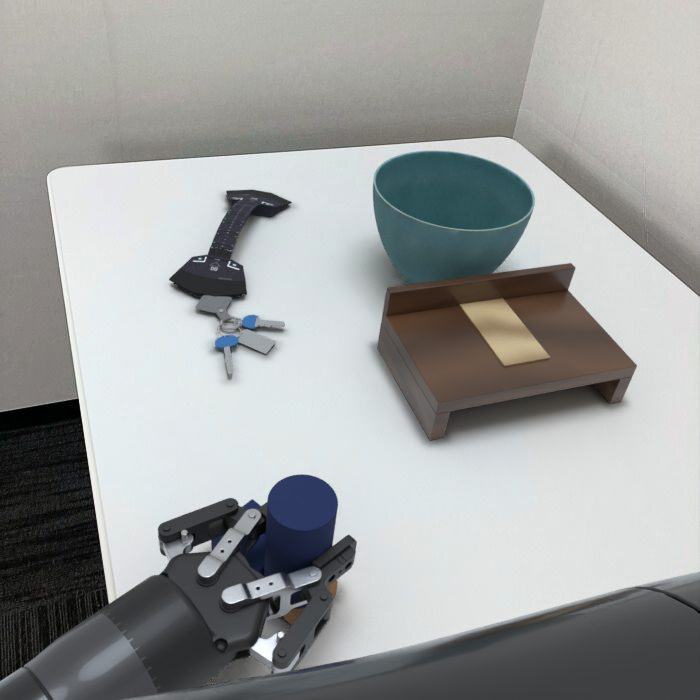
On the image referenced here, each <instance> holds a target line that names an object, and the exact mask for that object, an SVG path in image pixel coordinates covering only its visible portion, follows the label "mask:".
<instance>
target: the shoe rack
mask: <svg viewBox="0 0 700 700" xmlns="http://www.w3.org/2000/svg"><path fill="white" fill-rule="evenodd" d="M575 271H576V266H575V265H573V263H572V262H568V263H561V264H553V265H545V266H538V267H530V268H522V269H516V270H515V269H514V270H507V271H500V272H493V273H492V274H484V275H476V276H469V277H461V278H454V279H446V280H439V281H431V282H423V283H416V284H409V283H407V284H402V285H395V286H387V287H386V289H385V296H384V302H383V309H382V315H381V322H380V327H379V332H378V338H377V339H378V340H377V346H376V348H377V350H378V352H379V354H380V355H381V358H382V359H383V361H384V362H385V364H386V366H387V368H388V370H389V371H390V373H391V375H392V377H393V379H394V380H395V381H396V384H397V385H398V387H399V388H400V391H401V392H402V394H403V395H404V398H405V399H406V401H407V403H408V404H409V406H410V408H411V410H412V412H413V414H414V415H415V417H416V418H417V420H418V422H419V424H420V425H421V427H422V429H423V431H424V433H425V435H426V437H427V438H428V440H429V441H433V440H439V439H444V437H445V434H446V430H447V428H448V427H447V426H448V423H449V419H450V415H451V412H454V411H460V410H465V409H470V408H475V407H480V406H485V405H491V404H497V403H502V402H506V401H507V402H508V401H511V400H516V399H522V398H528V397H532V396H538V395H543V394H548V393H554V392H559V391H563V390H569V389H574V388H579V387H580V388H581V387H586V386H590V385H593V386H594V387H595V388H596V389H597V390H598V391H599V393H600V394H601V395H602V396H603V398H604V399H605V400H606V401H607V403H608V404H615V403H621V402H622V401H623V399H624V396H625V394H626V393H627V390H628V387H629V386H630V384H631V381H632V379H633V376H634V374H635V372H636V370H637V367H638V365H637V364H636V362H635V361H634V360H633V359H632V358H631V357H630V356H629V355H628V354H627V353H626V351H624V350H623V348H622V347H621V346H620V345H619V344H618V342H617V341H615V340H614V339H613V337H612V336H611V335H610V334H609V333H608V332H607V331H606V330H605V329H604V328H603V326H602V325H601V324H600V323H599V322H598V321H597V320H596V319H595V318H594V317H593V315H591V313H590V312H589V311H588V310H587V309H586V308H585V307H584V306H583V304H582V303H581V302H580V301H579V300H578V299H577V298H576V297H575V296H574V294H572V293H571V291H570V290H569V288H570V286H571V282H572V280H573V277H574V274H575Z"/></svg>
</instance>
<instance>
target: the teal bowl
mask: <svg viewBox="0 0 700 700" xmlns="http://www.w3.org/2000/svg"><path fill="white" fill-rule="evenodd" d="M372 178H373V179H372V180H373V181H372V200H373V201H372V204H373V205H372V206H373V213H374V214H373V215H374V220H375V224H376V228H377V232H378V235H379V238H380V241H381V244H382V246H383V249H384V251H385V253H386V255H387V257H388V259H389V261H390V262H391V263H392V265H393V266H394V268H395V269H396V270H397V272H398V273H399V274H400V276H401V277H402V278H403V280H404V281H405V282H406V283H407V284H416V283H423V282H431V281H439V280H446V279H454V278H461V277H469V276H476V275H484V274H492V273H495V271H496V270H497V269H498V268H499V267H500V266H501V265H503V263H504V262H505V261H506V260H507V258H508V257H509V256H510V255H511V253H512V252H513V251H514V249H515V248H516V247H517V245H518V244H519V242H520V240H521V238H522V237H523V235H524V232H525V231H526V229H527V227H528V224H529V222H530V221H531V218H532V215H533V212H534V208H535V205H536V197H535V194H534V192H533V190H532V188H531V186H530V185H529V184H528V183H527V181H525V180H524V179H523V178H522V177H521V176H520V175H519V174H517V173H516V172H514V171H513V170H512V169H510V168H508V167H505V165H502V164H500V163H497V162H495V161H493V160H489V159H487V158H484V157H481V156H477V155H474V154H469V153H463V152H457V151H453V150H452V151H451V150H418V151H410V152H405V153H402V154H398V155H396V156H393V157H390V158H388V159H387V160H385V161H384V162H382V163H381V164H380V165H379V166H378V167H377V168H376V170H375V172H374V173H373V177H372Z"/></svg>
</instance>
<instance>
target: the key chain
mask: <svg viewBox="0 0 700 700" xmlns="http://www.w3.org/2000/svg"><path fill="white" fill-rule="evenodd" d="M232 301H233V298H231V297H228V296H209V295H204V296H202V297H200V299H199V300H198V302H197V304H196V305H195V310H198V311H202V312H207V313H211V314H215V315H216V316H217V317H218V318H219V324H218V325H217V327H216V332H217V333H218V334H219V335H220V337H218V338H216V339H215V340H214V346H215V347H216V348H218V349H223V351H224V356H225V358H224V360H225V364H226V369H227V375H228V376H230V375H233V367H234V366H233V361H232V352H231V348H233V347H235V346H237V345H238V344H241V345H244V346H246V347H248V348H250V349H253V350H255V351H257V352H260V353H262V354H264V355H267V354H268V353H269V351H270V350H271V349H272V348H273V346H274V345H275V344H276V342H277V341H276V340H274V339H272V338H268V337H267V336H264V335H262V334H259V333H257V332H255V331H253V330H255V329H257V328H262V327H263V328H264V327H266V328H268V329H271V327H272V328H275V327H276V328H279V329H281V328H284V327H285V325H286V324H285V321H283V320H269V319H261V317H259V315H256V314H248V315H246V316H244V317H243V318H241V317H236V316H233V315H230V313H229V312H228V311H227V309H228V308H229V306H230V304H231V302H232ZM231 320H233V323H231V322H228V321H231ZM236 322H237V323H236ZM226 325H231V327H230V326H226ZM220 327H221V328H222V329H223V330H226V331H235V330H237V329H239V332H240V333H239V334H238V335H237V336H236V335H233V334H226V335H223V334H222V333H221V332H220V330H219V328H220ZM241 327H244V328H245V329H243V330H242V329H241Z"/></svg>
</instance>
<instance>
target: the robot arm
mask: <svg viewBox="0 0 700 700" xmlns="http://www.w3.org/2000/svg"><path fill="white" fill-rule="evenodd" d="M266 520H267V502H265V503H263V504H262V505H261V506H260V507H259V508H257V509H245V508H243V506H240V505H239V501H238V500H237V499H236V498H234V497H228V498H225V499H222V500H219V501H217V502H214V503H212V504H209V505H206V506H203V507H200V508H198V509H196V510H193V511H190V512H188V513H185V514H182V515H180V516H177V517H174V518H171V519H169V520H166V521H163V522H162V523H160V524H159V525H158V527H157V540H158V541H157V542H158V546H159V553H160V554H161V555H162V556H164V557H166V558H167V561H168V563H167V565H166V566H165V568H164V569H163V570H162V571H161V572H160V573H158V574H154V575H150V576H148V577H147V578H145V579H144V580H142V581H141V582H140V583H138V584H137V585H135V586H134V587H132V588H131V589H129V590H128V591H126V592H125V593H123V594H121V595H119V596H118V597H117V598H115V599H114V600H112V601H111V602H110V603H108V604H107V605H105V606H104V607H102V608H101V609H99V610H98V611H96V612H94V613H93V614H91V615H89V616H88V617H87V618H85V619H84V620H83V621H80V622H79V623H78V624H77V625H74V627H72V628H70V629H69V630H68V631H66V632H65V633H63V634H62V635H60V636H59V637H57V638H56V639H55V640H54V641H52V642H51V643H50V644H48V646H46V647H45V648H44V649H43V650H42V651H41V652H39V653H38V654H37V655H36V656H35V657H33V658H32V659H31V660H29V661H27V663H25V664H24V665H23V667H21V666H20V667H19V668H18V669H16V670H15V671H14V672H12V673H10V674H9V675H8V676H6V677H4V678H3V679H1V680H0V700H700V571H696V572H691V573H688V574H687V573H686V574H683V575H678V576H672V577H669V578H664V579H660V580H657V581H656V580H655V581H651V582H646V583H642V584H638V585H634V586H629V587H625V588H620V589H615V590H612V591H609V592H605V593H601V594H597V595H594V596H591V597H587V598H583V599H580V600H579V599H578V600H576V601H572V602H568V603H564V604H561V605H556V606H554V607H549V608H547V609H542V610H539V611H536V612H532V613H527V614H524V615H520V616H517V617H514V618H510V619H506V620H503V621H498V622H494V623H492V624H487V625H484V626H480V627H477V628H473V629H469V630H465V631H462V632H458V633H454V634H451V635H447V636H442V637H439V638H435V639H431V640H428V641H424V642H420V643H416V644H412V645H408V646H403V647H399V648H395V649H391V650H386V651H382V652H378V653H373V654H369V655H365V656H360V657H355V658H350V659H346V660H340V661H335V662H330V663H325V664H320V665H315V666H310V667H309V666H308V667H304V668H297V667H298V666H299V664H300V663H301V661H302V660H303V659H304V657H305V656H306V654H307V653H308V652H309V650H310V649H311V648H312V646H313V644H314V643H315V641H316V640H317V639H318V637H319V636H320V634H321V633H322V632H323V630H324V629H325V628H326V626H327V624H328V623H329V622H330V620H331V615H332V614H331V613H332V609H333V608H332V607H333V600H334V596H333V595H332V593H331V592H330V591H329V590H327V587H328V586H329V585H331V584H332V583H333V582H335V581H336V580H337V581H338V579H340V578H341V577H342V576H343V575H345V574H346V573H348V572H349V571H350V570H351V569H352V568H353V565H354V564H355V560H356V554H357V553H356V552H357V544H358V541H357V540H356V539H355V537H353V536H352V535H351V534H346V535H345V536H344V537H343V538H341V539H340V540H339V541H337V542H335V544H334V545H332V547H331V548H330V549H328V550H327V551H326V552H325V553H323V554H322V555H320V556H319V557H318V558H316V559H315V560H314V561H313V562H312V566H310V567H307V568H304V569H301V570H298V571H295V572H292V573H289V574H285V573H284V572H280V573H277V574H274V575H271V576H268V577H264V576H263V575H262V574H261V573H259V572H257V571H256V570H254V569H252V568H251V567H250V565H249V563H248V561H247V559H246V558H247V556H248V554H249V553H250V551H251V550H252V548H253V547H254V546H255V544H256V543H257V541H258V540H259V538H260V535H262V534H263V533H264V534H265V535H266ZM223 535H224V536H223ZM220 536H223V538H222V539H221V540H220V541H219V543H218V544H217V545H216V547H215V548H214V549H213V551H212V550H211V551H200V552H192V551H193V549H194V547H197V546H200V545H202V544H204V543H207V542H210V541H211V540H212V539H215V538H217V537H220ZM272 596H273V597H272ZM270 597H272V598H271V599H270ZM307 603H308V604H307ZM304 604H307V606H306V607H305V608H304V610H303V611H302V612H301V614H300V615H299V616H298V618H297V619H296V620H295V622H294V623H293V624H292V625H291V626H290V627H289V628H288V629H287V630H286V632H284V631H282V630H281V631H277V632H275V633H274V634H273V635H272V636H270V637H268V638H262V636H263V635H262V634H263V631H264V627H265V624H266V623H268V622H270V621H273V620H276V619H278V618H281V616H284V615H286V614H287V613H289V611H290V610H291V609H293V608H296V607H298V606H301V605H304ZM250 657H252V658H254V659H255V660H257V661H258V662H260V663H261V664H262V665H264V666H266V667H267V668H268V669H270V673H269V674H264V675H258V676H257V675H256V676H251V677H246V678H240V679H234V680H228V681H223V682H216V683H211V684H208V682H210V681H211V680H213V679H214V678H215V677H216V676H217V675H218V674H219V673H221V671H223V669H225V667H227V666H228V665H230V664H231V663H234V662H236V661H241V660H245V659H248V658H250ZM296 668H297V669H296Z"/></svg>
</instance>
